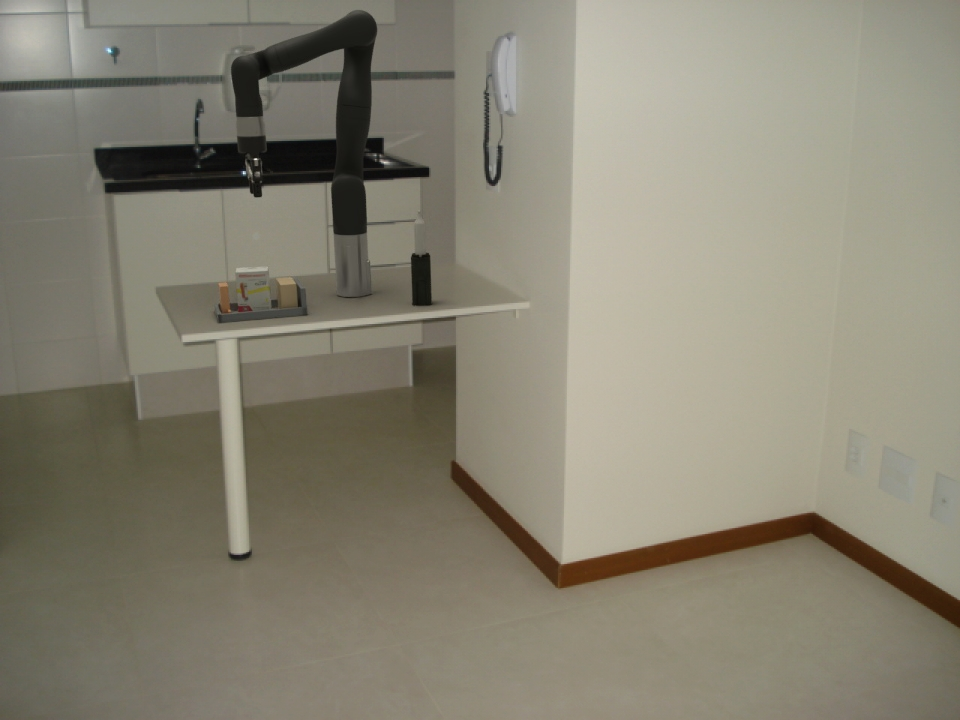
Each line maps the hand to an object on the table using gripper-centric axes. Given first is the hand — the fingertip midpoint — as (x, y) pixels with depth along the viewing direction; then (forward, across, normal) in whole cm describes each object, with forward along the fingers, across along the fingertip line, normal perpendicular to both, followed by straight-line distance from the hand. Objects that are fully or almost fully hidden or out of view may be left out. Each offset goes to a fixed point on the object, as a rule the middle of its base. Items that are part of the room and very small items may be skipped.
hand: (256, 195), depth 271 cm
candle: (+28, -24, -39) cm, 54 cm away
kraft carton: (+28, -19, -4) cm, 34 cm away
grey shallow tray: (+28, -19, +3) cm, 34 cm away
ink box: (+28, -19, +5) cm, 34 cm away
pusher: (+28, -19, +12) cm, 36 cm away
